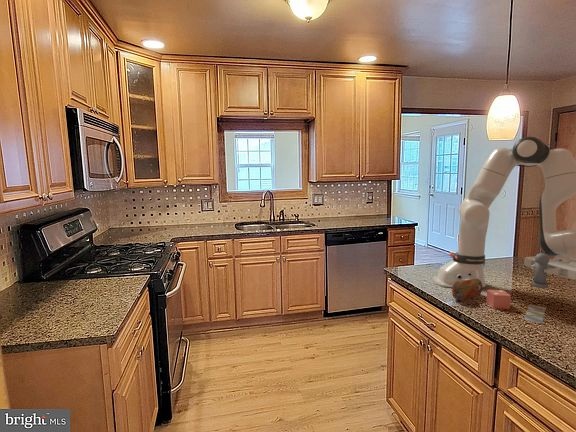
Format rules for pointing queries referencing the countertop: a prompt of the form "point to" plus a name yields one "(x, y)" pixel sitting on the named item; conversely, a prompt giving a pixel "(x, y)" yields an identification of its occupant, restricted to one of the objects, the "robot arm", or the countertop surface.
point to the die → (498, 299)
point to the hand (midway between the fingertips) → (539, 269)
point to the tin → (466, 289)
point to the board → (535, 313)
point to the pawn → (540, 271)
